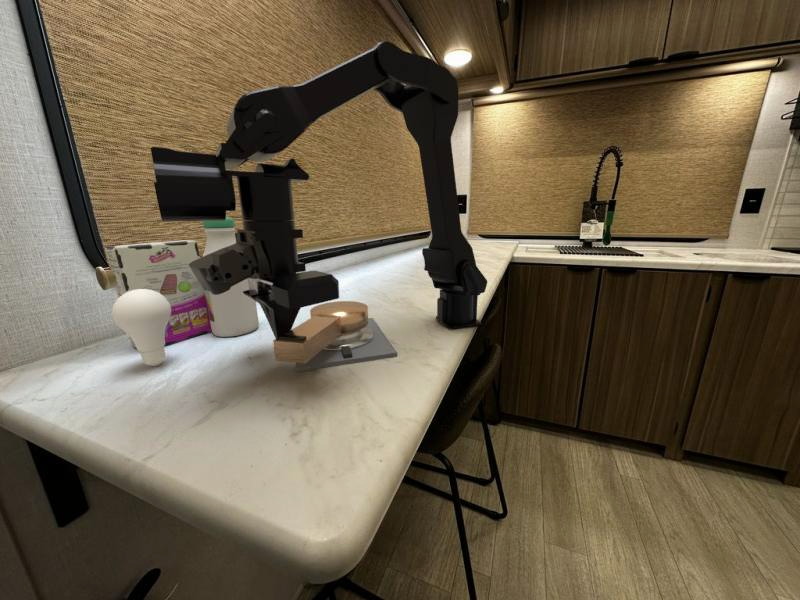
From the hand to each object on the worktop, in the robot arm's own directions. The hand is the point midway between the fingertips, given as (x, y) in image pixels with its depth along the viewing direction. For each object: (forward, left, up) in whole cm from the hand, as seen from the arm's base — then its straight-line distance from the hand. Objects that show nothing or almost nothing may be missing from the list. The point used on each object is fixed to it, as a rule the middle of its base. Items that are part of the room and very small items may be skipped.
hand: (282, 342), depth 41 cm
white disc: (-8, -7, -4) cm, 12 cm away
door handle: (-6, -3, -1) cm, 7 cm away
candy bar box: (+19, -18, -4) cm, 27 cm away
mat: (-8, -7, -4) cm, 12 cm away
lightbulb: (+18, -7, -4) cm, 20 cm away
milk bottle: (+9, -19, -4) cm, 22 cm away
